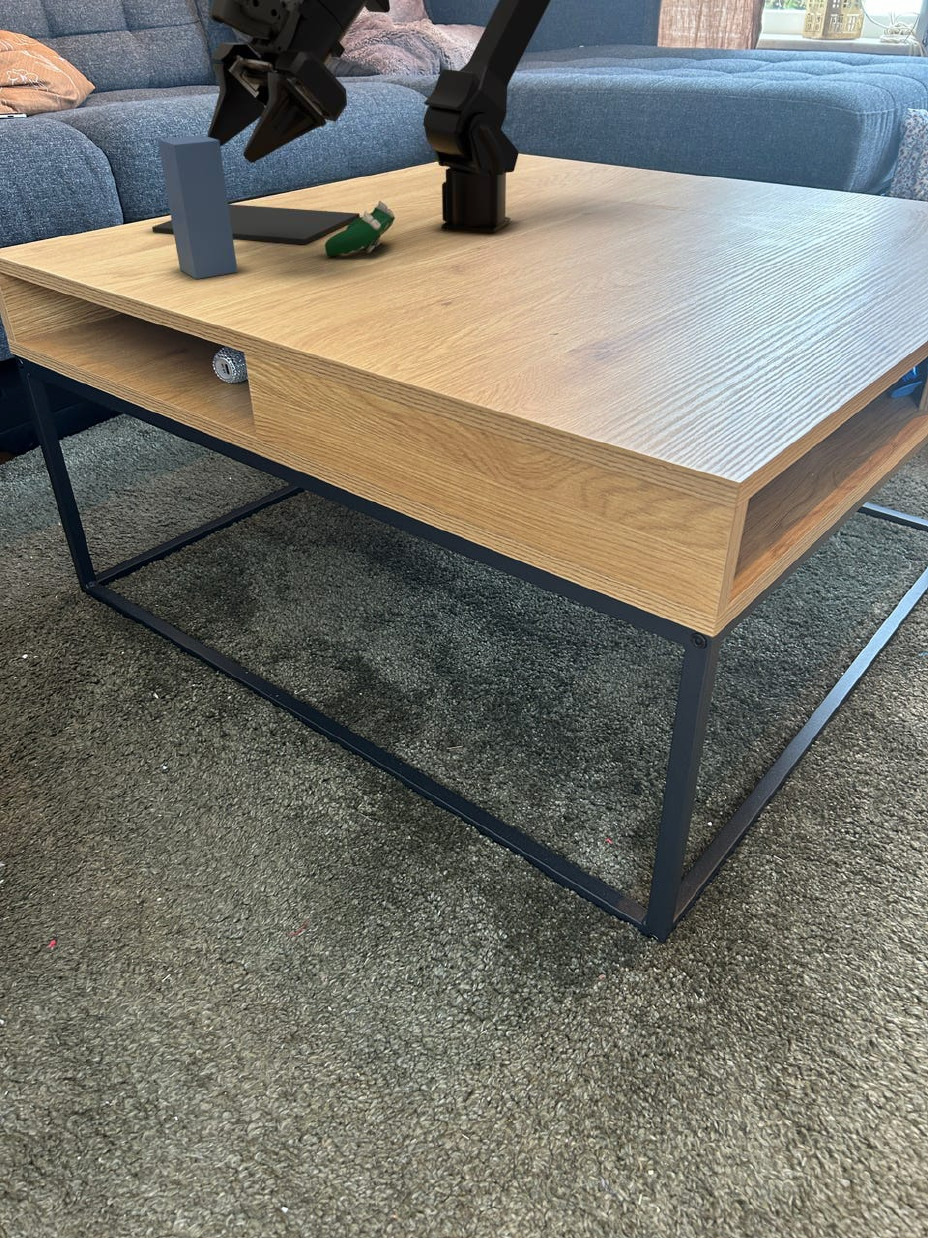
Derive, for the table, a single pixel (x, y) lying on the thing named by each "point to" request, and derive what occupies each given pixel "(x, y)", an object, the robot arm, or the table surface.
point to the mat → (278, 223)
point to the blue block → (198, 205)
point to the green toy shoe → (361, 233)
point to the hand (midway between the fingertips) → (227, 153)
